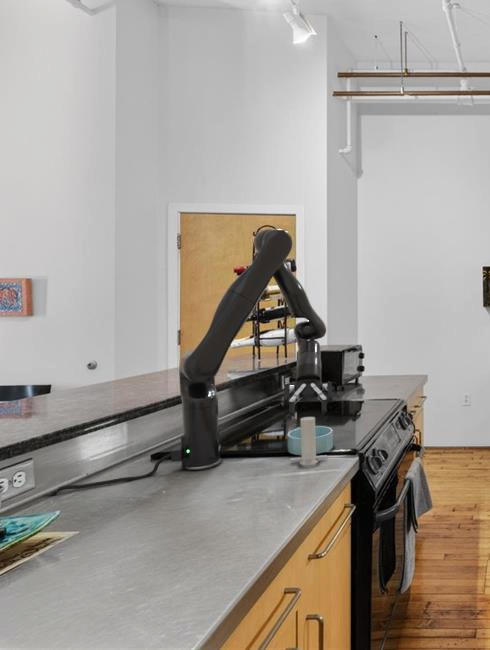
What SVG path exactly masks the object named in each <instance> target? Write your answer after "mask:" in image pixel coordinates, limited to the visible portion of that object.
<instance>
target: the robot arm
mask: <svg viewBox="0 0 490 650" xmlns="http://www.w3.org/2000/svg"><path fill="white" fill-rule="evenodd" d="M253 243H254V249H255V250H256V252H257V255H256V257H255V259H254V260H253V262H252V263H251V265H249V266H248V268H246V269H245V270H244V271H243V272H242V273H241V274H239V276H237V278H235V279H234V280H233V281H232V283H231V284H230V285H229V286H228V288H227V289H226V290H225V292H224V293H223V295H222V297H221V299H220V301H219V302H218V304H217V306H216V308H215V311H214V314H213V316H212V320H211V322H210V325H209V328H208V329H207V332H206V334H205V335H204V337H202V339H201V341H200V342H199V343H198V345H197V346H196V347H195V348H194V349H191V350H188V351H187V352H185V354H183V356H181V358H180V360H179V366H178V372H179V374H178V375H179V391H180V393H179V394H180V400H181V407H182V411H181V413H182V432H183V433H182V434H181V435H180V444H177V445H176V446H175V447H174V448H172V450H170V453H169V454H166V455H164V456H162V457H161V458H160V459H158V460H157V461H156V463H155V464H154V466H153V469H152V470H151V471H149V472H148V473H145V474H141V475H137V476H124V477H117V478H113V479H107V480H101V481H95V482H90V483H84V484H67V485H62V486H59V487H58V488H59V489H57V488H56V489H57V491H54V490H53V491H52V492H51V493H50V494H49V497H53V496H56V495H57V494H58V493H60V492H62V491H64V490H82V489H86V488H93V487H98V486H105V485H111V484H115V483H120V482H122V483H123V482H128V481H137V480H142V479H145V478H149V477H151V476H153V475H154V474H156V472H157V471H158V468H159V466H160V465H161V464H162V463H163V462H164V461H166V460H168V459H170V460H171V462H172V463H173V462H181V470H183V471H184V470H187V471H201V470H206V469H210V468H213V467H216V466H218V465H220V463H221V452H220V451H221V447H222V446H221V443H220V425H219V424H220V421H219V394H218V391H217V388H216V380H215V379H216V376H217V375H218V372H219V370H220V368H221V366H222V364H223V361H224V359H225V357H226V355H227V354H228V351H229V349H230V347H231V346H232V343H233V342H234V340H235V338H236V337H237V336H238V334H239V333H240V332H241V330H242V328H243V327H244V326H245V324H246V322H247V321H248V319H249V318H250V316H251V314H252V313H253V311H254V310H255V308H256V306H257V304H258V303H259V301H260V299H261V297H262V296H263V294H264V292H265V290H266V289H267V287H268V286H269V284H270V282H271V281H272V278H273V279H274V281H275V283H276V285H277V287H278V289H279V290H280V293H281V295H282V297H283V299H284V301H285V303H286V306H287V309H288V310H289V313H290V315H291V316H292V317H293V318H295V319H305V320H303V321H300V322H298V323H296V324H295V325H294V327H293V335H294V338H295V340H296V344H297V360H296V375H295V384H294V385H290V384H289V383H285V384H284V390H283V397H282V400H283V405H284V406H288V413H289V415H290V416H291V417H295V413H296V412H295V410H296V408H295V407H296V406H295V405H296V404H297V403H298V402H300V400H302V399H303V400H305V399H315V398H316V399H317V401H319V402H321V416H324V415H325V414H326V413H327V410H328V409H327V408H328V407H327V405H328V403H332V402H333V400H334V397H333V386H332V385H333V383H332V381H327V382H326V383H323V382H322V370H323V369H322V358H321V344H320V342H319V341H318V340H319V339H322V338H324V337H325V336H326V334H327V326H326V324H325V322H324V320H323V319H322V318H321V316H320V315H319V314H318V313H317V312H316V310H315V309H314V308H313V306H312V304H311V301H310V300H309V297H308V295H307V292H306V291H305V289H304V287H303V285H302V283H301V282H300V281H299V279H298V278H297V277H296V276H295V274H294V273H293V272H292V270H291V268H290V267H289V265H288V263H287V261H286V260H287V258H288V257H289V256H290V254H291V251H292V249H293V245H294V244H293V243H294V242H293V238H292V235H291V233H289V232H288V231H286V230H285V229H282V228H265V229H262V230H260V231H257V233H256V235H255V237H254V240H253ZM323 389H324V391H326V392H327V395H324V393H323V391H322V390H323ZM293 391H295V392H294V393H293V395H292V396H291V397H290V394H291V393H292V392H293Z"/></svg>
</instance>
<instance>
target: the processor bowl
mask: <svg viewBox="0 0 490 650" xmlns="http://www.w3.org/2000/svg"><path fill="white" fill-rule="evenodd" d="M333 431H334V429H333V428H331V427H330V426H329V427H328V426H323V425H315V435H316V455H319V454H323V453H326V452H328V451H330V450H332V449H333V447H334V432H333ZM286 439H287V452H288V453H289V454H292V455H294V456H295V455H296V456H302V455H301V427H298V428H295V429H292V430H290V431H289V432H287V435H286Z"/></svg>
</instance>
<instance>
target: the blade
mask: <svg viewBox="0 0 490 650" xmlns="http://www.w3.org/2000/svg"><path fill="white" fill-rule="evenodd" d="M299 420H300V428H301V455H300V456H301V457H291V458H290V460H289V462H290V463H292V462H298V463H299V465H301V466H312V465H316V464H317V463H319V460H326V459H328V455H327V454H323V455H322V454H321V455H317V454H316V435H315V426H316V417H315V416H304V417H301V418H300V419H299Z"/></svg>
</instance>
